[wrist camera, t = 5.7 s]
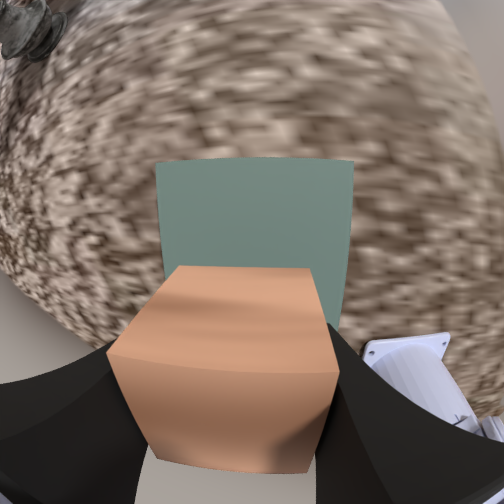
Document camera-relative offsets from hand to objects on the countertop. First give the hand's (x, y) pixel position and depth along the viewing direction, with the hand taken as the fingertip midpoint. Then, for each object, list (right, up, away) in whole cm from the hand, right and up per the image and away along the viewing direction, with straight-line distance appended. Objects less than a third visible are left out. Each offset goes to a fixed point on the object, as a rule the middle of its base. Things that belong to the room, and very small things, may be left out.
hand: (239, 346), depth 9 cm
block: (0, 0, +1) cm, 1 cm away
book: (+1, +3, +8) cm, 9 cm away
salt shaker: (-18, +22, +3) cm, 28 cm away
